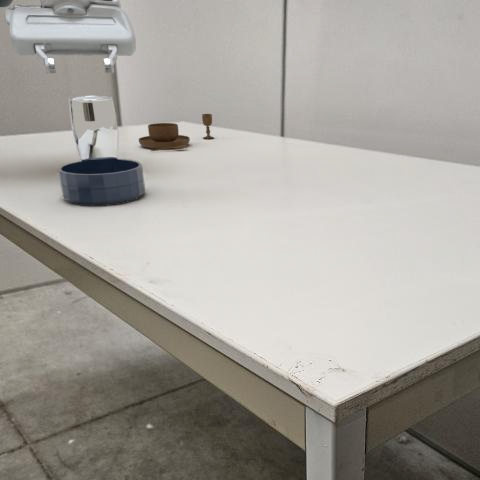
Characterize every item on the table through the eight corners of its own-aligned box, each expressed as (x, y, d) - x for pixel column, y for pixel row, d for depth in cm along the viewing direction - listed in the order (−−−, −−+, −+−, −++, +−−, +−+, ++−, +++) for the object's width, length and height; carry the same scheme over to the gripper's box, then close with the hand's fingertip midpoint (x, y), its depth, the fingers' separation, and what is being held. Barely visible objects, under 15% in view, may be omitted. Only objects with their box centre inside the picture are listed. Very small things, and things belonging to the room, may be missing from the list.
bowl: (56, 208, 96) (50, 176, 94) (70, 189, 107) (65, 160, 105) (142, 204, 98) (139, 173, 96) (147, 186, 110) (144, 157, 108)
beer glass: (74, 197, 100) (57, 99, 93) (95, 187, 106) (81, 95, 100) (114, 198, 99) (100, 100, 93) (133, 189, 105) (121, 95, 99)
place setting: (133, 141, 153) (130, 116, 151) (211, 137, 161) (210, 113, 159) (146, 153, 139) (143, 126, 137) (231, 147, 147) (230, 121, 144)
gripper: (0, -10, 102) (10, 56, 98) (127, -5, 110) (142, 57, 106) (6, 20, 108) (16, 84, 104) (127, 23, 115) (140, 82, 111)
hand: (80, 70), depth 105 cm, fingers open, 8 cm apart
